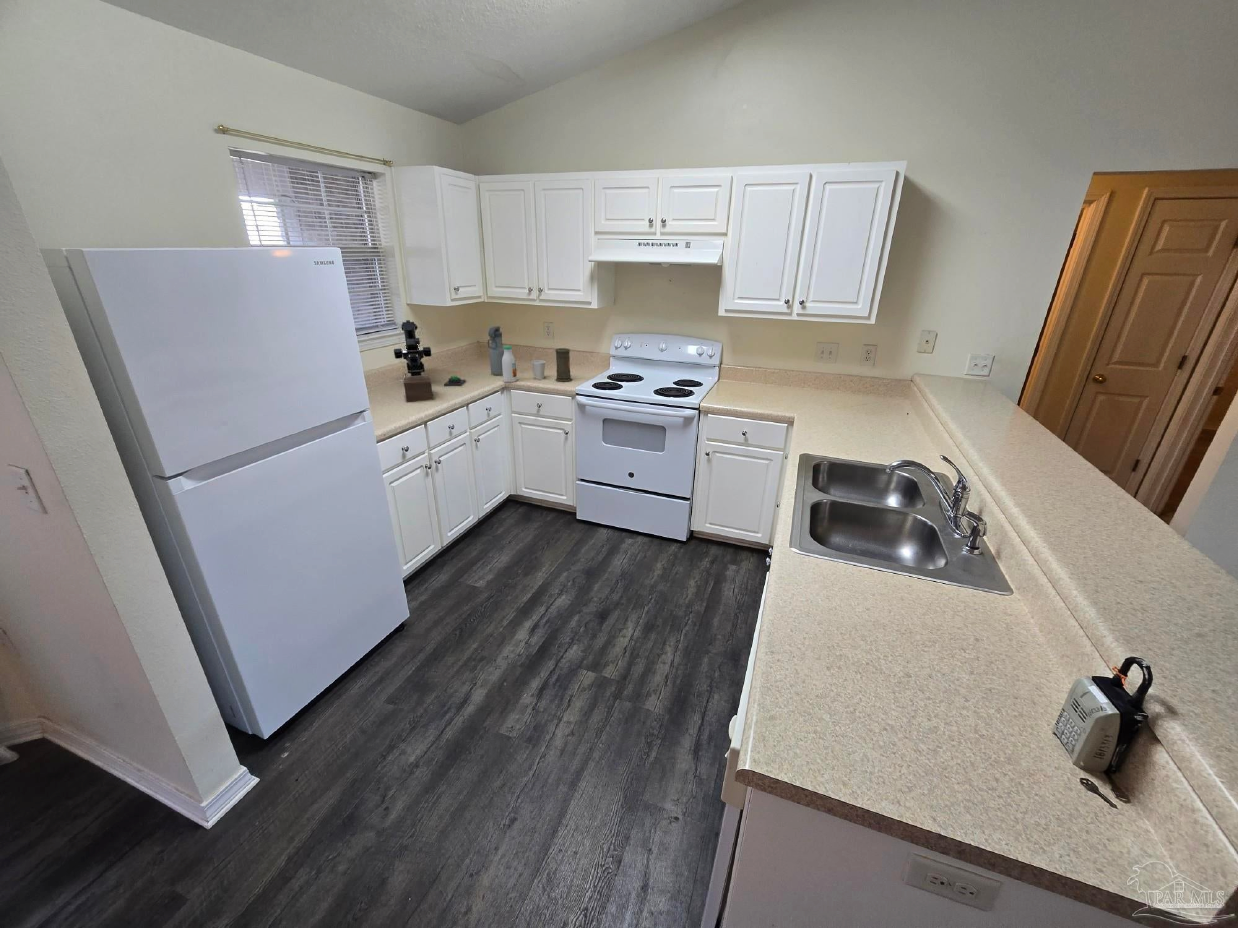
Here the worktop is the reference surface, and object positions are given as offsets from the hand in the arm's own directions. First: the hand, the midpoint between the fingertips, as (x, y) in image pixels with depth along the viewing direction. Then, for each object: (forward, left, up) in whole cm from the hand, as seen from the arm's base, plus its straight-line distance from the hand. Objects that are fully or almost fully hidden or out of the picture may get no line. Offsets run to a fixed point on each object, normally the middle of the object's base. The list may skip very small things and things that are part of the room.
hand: (414, 365), depth 274 cm
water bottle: (-36, +37, -13) cm, 53 cm away
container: (-20, +78, -13) cm, 81 cm away
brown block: (+18, +7, -13) cm, 23 cm away
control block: (-11, +17, -13) cm, 24 cm away
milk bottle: (-18, +47, -13) cm, 52 cm away
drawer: (+11, +4, -12) cm, 16 cm away
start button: (-11, +17, -10) cm, 23 cm away
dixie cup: (-25, +63, -13) cm, 69 cm away
